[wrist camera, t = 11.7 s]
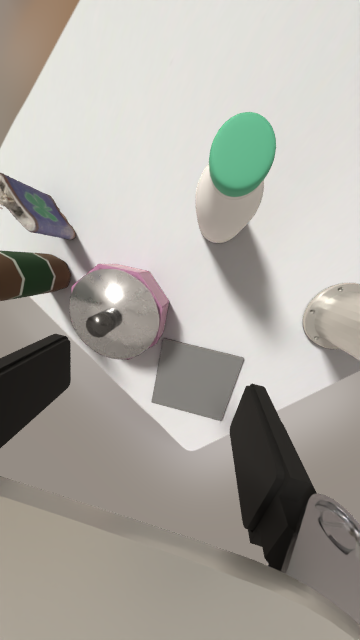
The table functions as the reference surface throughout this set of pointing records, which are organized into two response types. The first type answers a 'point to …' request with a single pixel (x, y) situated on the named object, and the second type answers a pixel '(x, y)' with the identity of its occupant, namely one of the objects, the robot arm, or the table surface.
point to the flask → (34, 209)
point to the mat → (195, 379)
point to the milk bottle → (234, 176)
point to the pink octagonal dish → (152, 286)
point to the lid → (114, 313)
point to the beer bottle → (31, 274)
